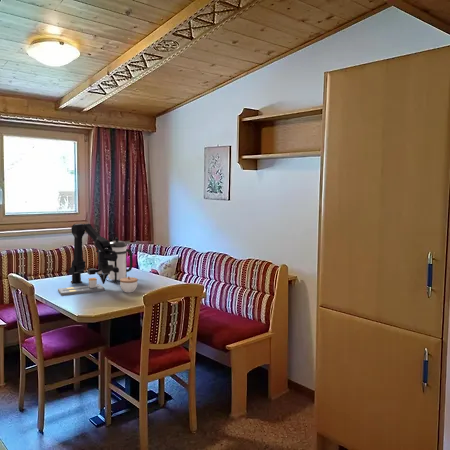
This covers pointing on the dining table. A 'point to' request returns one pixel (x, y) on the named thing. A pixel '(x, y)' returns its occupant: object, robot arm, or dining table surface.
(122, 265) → the coffee press
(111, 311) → the dining table surface
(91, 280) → the block
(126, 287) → the lidded jar
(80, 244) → the robot arm
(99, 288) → the console board
